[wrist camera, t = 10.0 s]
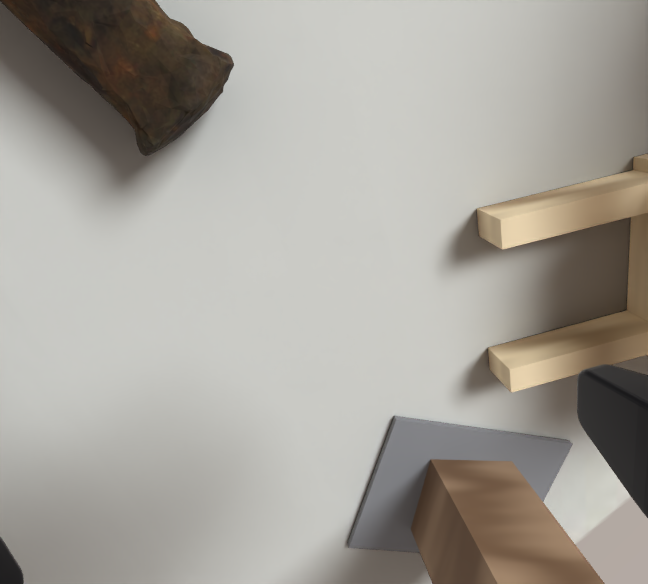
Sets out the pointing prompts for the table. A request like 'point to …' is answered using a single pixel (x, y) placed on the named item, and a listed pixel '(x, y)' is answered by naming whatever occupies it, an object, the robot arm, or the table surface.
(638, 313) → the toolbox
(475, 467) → the walnut block
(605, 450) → the robot arm
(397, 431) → the felt mat
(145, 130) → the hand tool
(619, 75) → the table surface
